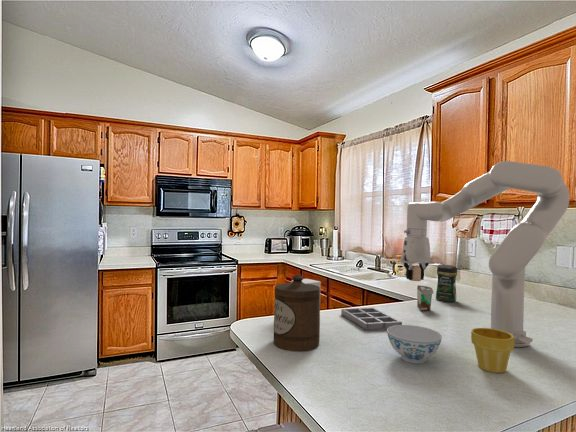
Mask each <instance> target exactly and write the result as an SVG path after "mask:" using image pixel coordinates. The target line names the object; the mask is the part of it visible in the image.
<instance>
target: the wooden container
mask: <svg viewBox="0 0 576 432" xmlns="http://www.w3.org/2000/svg"><path fill="white" fill-rule="evenodd" d="M303 279H304V277H303V276H302V275H301V274H298V273H297V274H294V275H293V276H292V279H291V280H294V281H293V282H292V283H291V282H289V283H279V284H276V285H275V286H274V310H273V312H274V314H273V344H274V345H275V346H276V347H277V348H279V349H282V350H286V351H293V352H305V351H311V350H314V349H316V348H318V347H319V345H320V340H321V339H320V336H321V335H320V332H321V331H320V330H321V328H320V327H321V326H320V325H321V324H320V323H321V290H320V287H319V286H316V285H312V284H304V283H303V282H302V280H303Z"/></svg>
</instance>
